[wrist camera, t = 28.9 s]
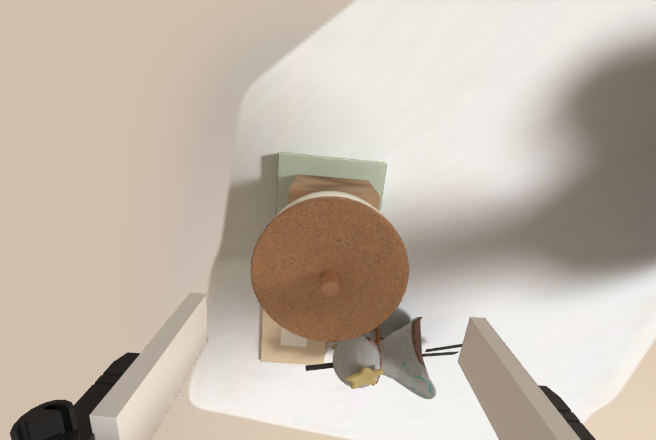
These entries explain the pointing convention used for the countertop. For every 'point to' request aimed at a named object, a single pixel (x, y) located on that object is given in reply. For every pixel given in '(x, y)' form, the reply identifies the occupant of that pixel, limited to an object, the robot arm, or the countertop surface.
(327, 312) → the lidded jar
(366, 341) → the decorative toy
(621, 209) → the countertop surface
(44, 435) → the robot arm
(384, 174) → the base plate
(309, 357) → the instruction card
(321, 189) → the walnut cube
